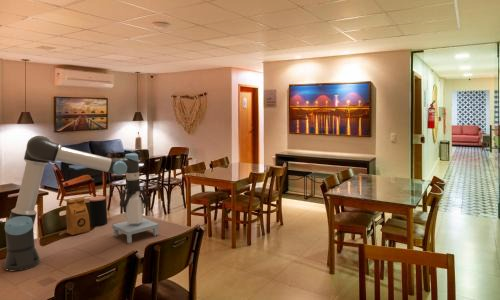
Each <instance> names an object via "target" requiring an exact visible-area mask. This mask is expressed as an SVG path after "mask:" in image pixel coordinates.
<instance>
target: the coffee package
mask: <svg viewBox="0 0 500 300" xmlns="http://www.w3.org/2000/svg"><path fill="white" fill-rule="evenodd" d="M65 218H66V221H65V223H66V231H67V234H69V235H72V236H73V235H79V234H83V233H87V232H90V230H91V224H90V213H89V211H88V208H87V205H86V201H85V197H79V198H74V199H73V198H72V199H67V200H66V207H65Z"/></svg>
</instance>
